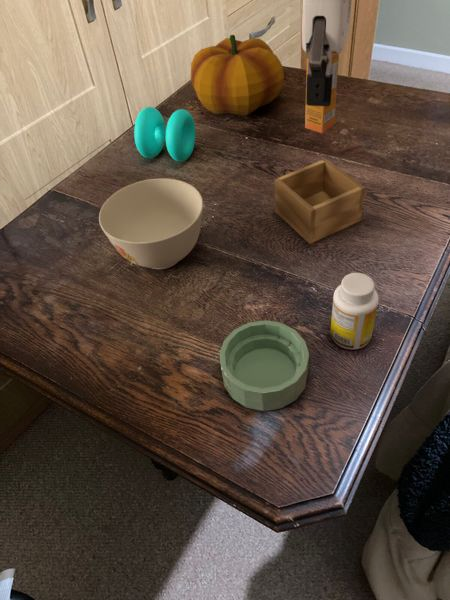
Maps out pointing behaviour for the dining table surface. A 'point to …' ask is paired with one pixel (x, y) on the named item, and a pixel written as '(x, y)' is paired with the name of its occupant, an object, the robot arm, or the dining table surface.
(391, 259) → the dining table surface
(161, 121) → the turquoise yo-yo
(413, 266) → the dining table surface
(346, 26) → the robot arm
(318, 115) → the supplement box
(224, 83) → the decorative pumpkin
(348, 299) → the supplement bottle
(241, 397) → the green bowl
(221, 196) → the dining table surface
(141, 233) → the bowl
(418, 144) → the dining table surface
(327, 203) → the wooden holder
